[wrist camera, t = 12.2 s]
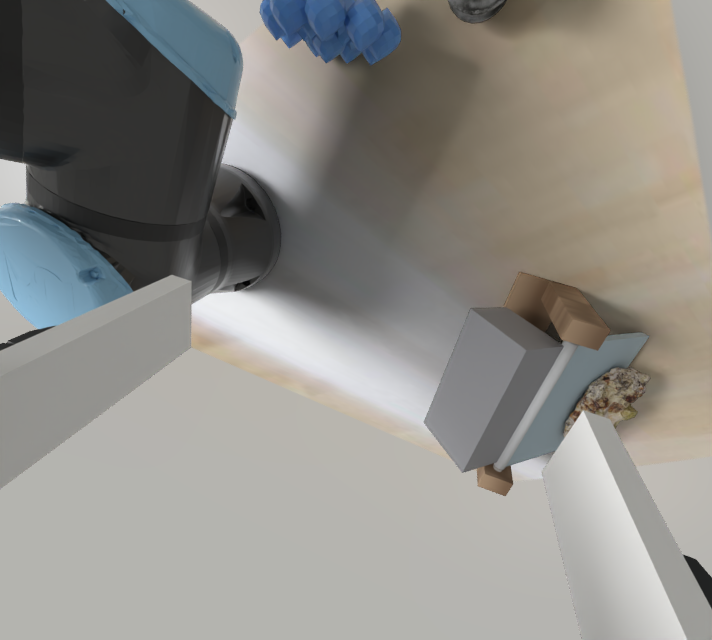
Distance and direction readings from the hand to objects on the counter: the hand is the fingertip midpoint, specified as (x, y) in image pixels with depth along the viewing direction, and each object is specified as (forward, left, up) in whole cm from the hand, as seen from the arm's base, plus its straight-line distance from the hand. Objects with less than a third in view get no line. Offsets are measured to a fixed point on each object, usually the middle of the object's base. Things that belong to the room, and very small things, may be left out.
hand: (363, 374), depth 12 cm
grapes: (-12, +14, -31) cm, 36 cm away
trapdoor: (+13, -14, -30) cm, 35 cm away
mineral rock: (+22, -14, -28) cm, 39 cm away
